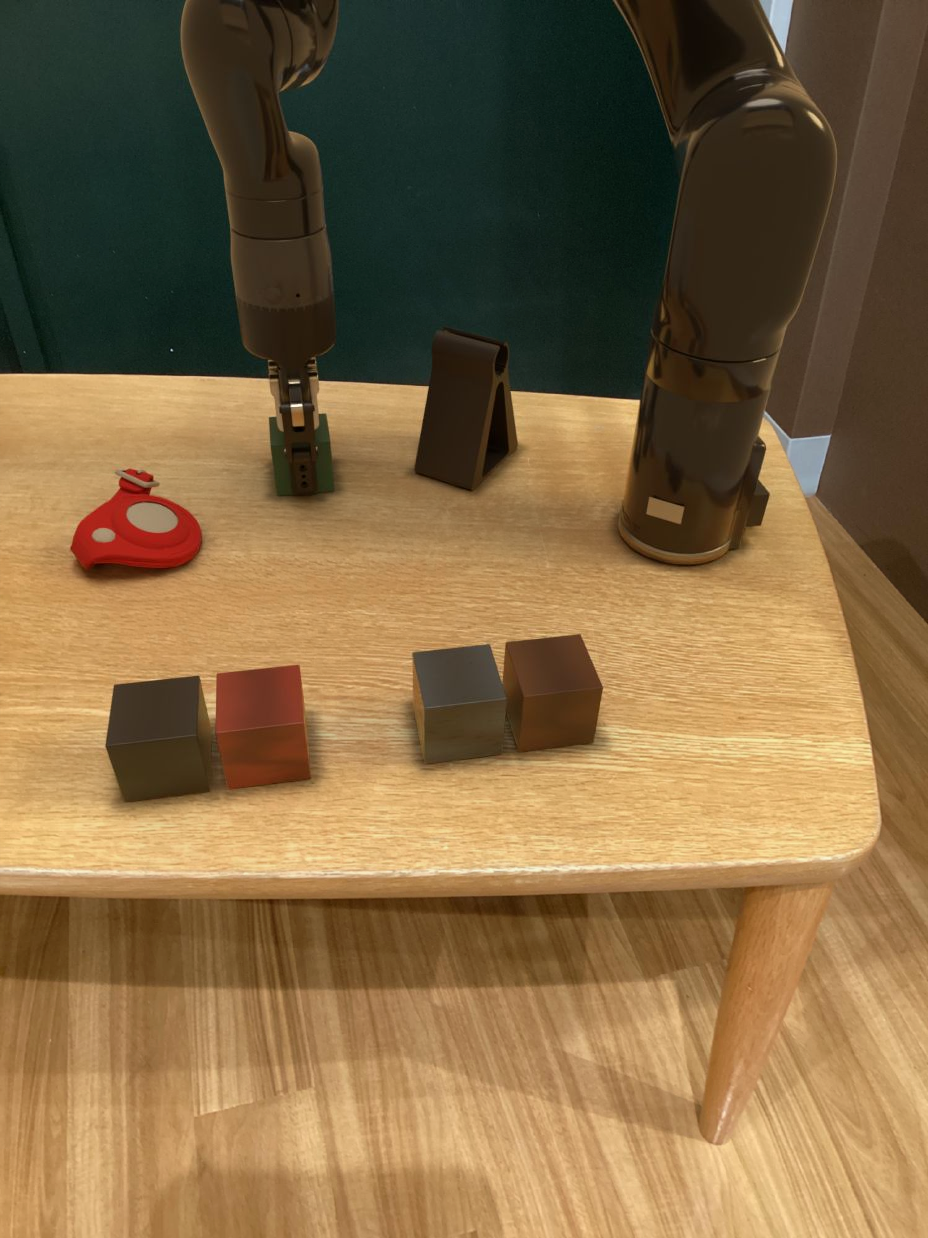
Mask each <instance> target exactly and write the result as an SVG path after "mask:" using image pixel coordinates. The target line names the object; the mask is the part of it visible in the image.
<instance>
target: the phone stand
mask: <svg viewBox="0 0 928 1238" xmlns="http://www.w3.org/2000/svg"><path fill="white" fill-rule="evenodd" d="M430 351H431V352H430V353H431V371H430V377H429V382H428V388H427V393H426V399H425V404H424V412H423V416H422V422H421V428H420V435H419V439H418V445H417V452H416V457H415V463H414V468H413V469H414V470H413V471H414V472H415V473H418V474H421V475H424V476H427V477H431V478H433V479H436V480H438V481H439V480H440V481H443V482H444V483H445V482H446V483H449V484H451V485H455V486H458V487H461V488H464V489H467V490H471V491H474V490H476V489H477V488H478V487H479V486H480V485H481V484H482V483H483V482H484V481H485V480H486V479H487V478H488V477H489V476H490V475H491V474H492V473H493V472H494V471H495V470H496V469H497V468H499V467H500V466H501V464H502V463H504V462H505V461H506V460H507V459H508V458H509V457H510V456H511V455H512V454H513V453H514V452H516V450H517V449H518V446H519V441H518V433H517V427H516V419H515V413H514V412H515V411H514V406H513V399H512V390H511V384H510V377H509V360H510V344H509V343H508V342H507V341H503V340H501V339H500V340H499V339H495V338H492V337H487V336H484V335H480V334H475V333H472V332H467V331H463V330H460V329H456V328H453V327H448V326H445V325H444V326H442V330H440V329H437V330H436V332H435V334H434V336H433V339H432V344H431V349H430Z"/></svg>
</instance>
